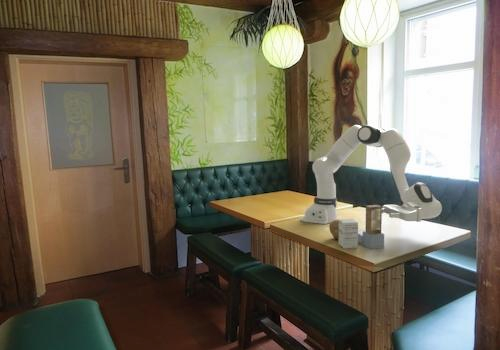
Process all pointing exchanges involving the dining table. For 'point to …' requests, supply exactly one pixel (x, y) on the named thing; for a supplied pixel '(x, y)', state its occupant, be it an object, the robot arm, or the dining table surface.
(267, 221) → the dining table surface
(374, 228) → the frame block
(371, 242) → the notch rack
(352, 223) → the supplement box
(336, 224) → the natural sponge
